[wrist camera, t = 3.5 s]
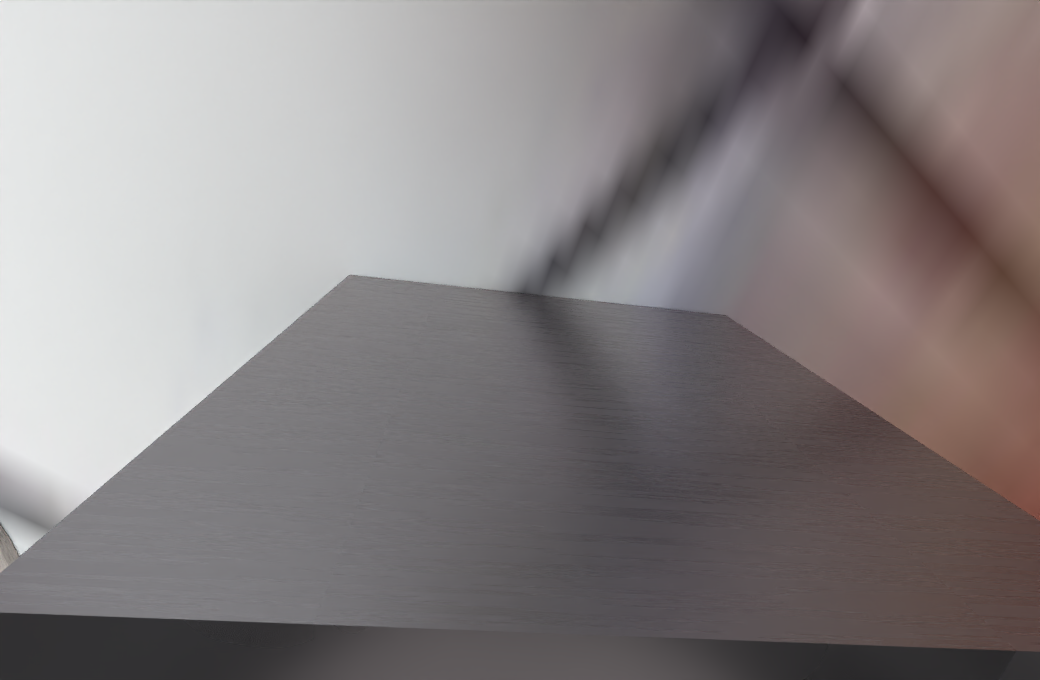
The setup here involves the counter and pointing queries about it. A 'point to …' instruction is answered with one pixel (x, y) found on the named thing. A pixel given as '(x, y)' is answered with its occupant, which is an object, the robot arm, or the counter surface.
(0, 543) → the hub
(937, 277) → the counter surface
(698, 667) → the block
